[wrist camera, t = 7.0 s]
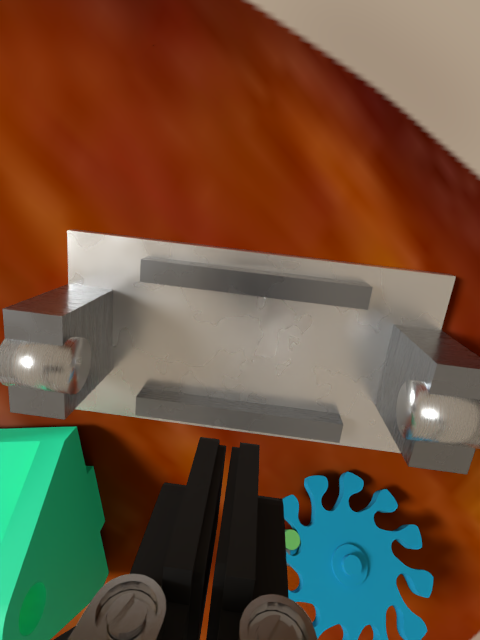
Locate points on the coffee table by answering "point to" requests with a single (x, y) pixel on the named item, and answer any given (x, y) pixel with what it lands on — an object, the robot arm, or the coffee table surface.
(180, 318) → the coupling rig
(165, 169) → the coffee table surface
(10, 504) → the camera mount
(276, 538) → the robot arm
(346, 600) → the gear
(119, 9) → the coffee table surface
